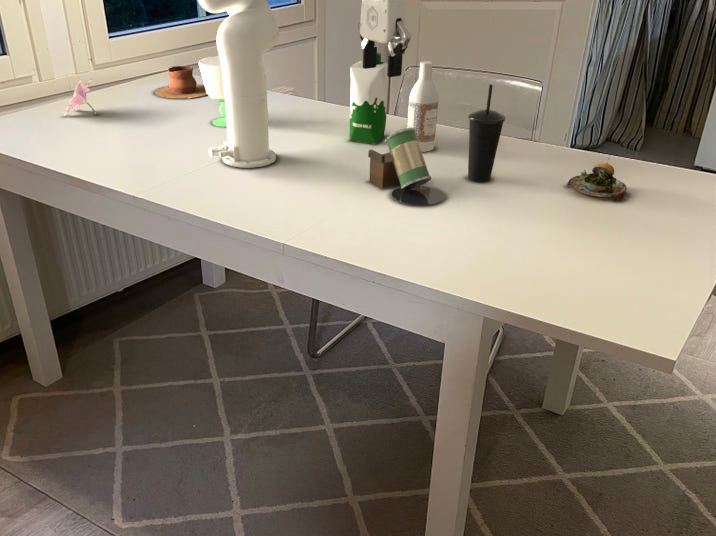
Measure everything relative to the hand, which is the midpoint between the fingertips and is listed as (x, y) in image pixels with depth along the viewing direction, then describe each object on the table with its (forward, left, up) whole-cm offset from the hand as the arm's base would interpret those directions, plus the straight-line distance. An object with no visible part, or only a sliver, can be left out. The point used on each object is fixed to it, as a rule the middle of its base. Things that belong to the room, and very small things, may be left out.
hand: (381, 71), depth 147 cm
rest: (0, -5, -22) cm, 23 cm away
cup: (-11, +55, -22) cm, 61 cm away
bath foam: (+20, +10, -22) cm, 32 cm away
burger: (+34, -33, -22) cm, 52 cm away
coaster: (0, -15, -22) cm, 27 cm away
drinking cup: (+18, -14, -22) cm, 32 cm away
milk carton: (+13, +23, -22) cm, 35 cm away
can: (0, -11, -15) cm, 19 cm away
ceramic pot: (-9, +93, -22) cm, 96 cm away
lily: (-43, +84, -22) cm, 97 cm away
